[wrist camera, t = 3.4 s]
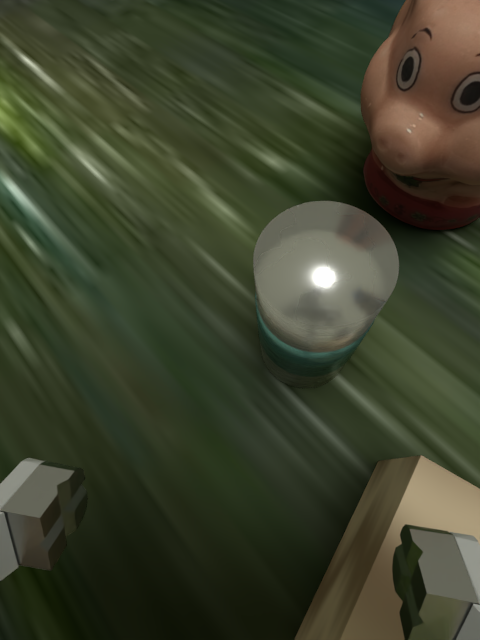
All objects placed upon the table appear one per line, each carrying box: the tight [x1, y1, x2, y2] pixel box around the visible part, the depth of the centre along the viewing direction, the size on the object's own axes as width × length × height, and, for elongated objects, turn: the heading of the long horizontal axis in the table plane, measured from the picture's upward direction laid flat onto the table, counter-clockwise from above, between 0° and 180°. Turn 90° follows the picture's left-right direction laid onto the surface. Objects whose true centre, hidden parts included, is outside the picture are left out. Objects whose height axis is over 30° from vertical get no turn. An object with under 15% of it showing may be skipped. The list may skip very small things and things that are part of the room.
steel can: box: [253, 201, 399, 388], centre depth 20 cm, size 6×6×11 cm
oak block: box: [294, 455, 480, 640], centre depth 17 cm, size 10×10×7 cm
